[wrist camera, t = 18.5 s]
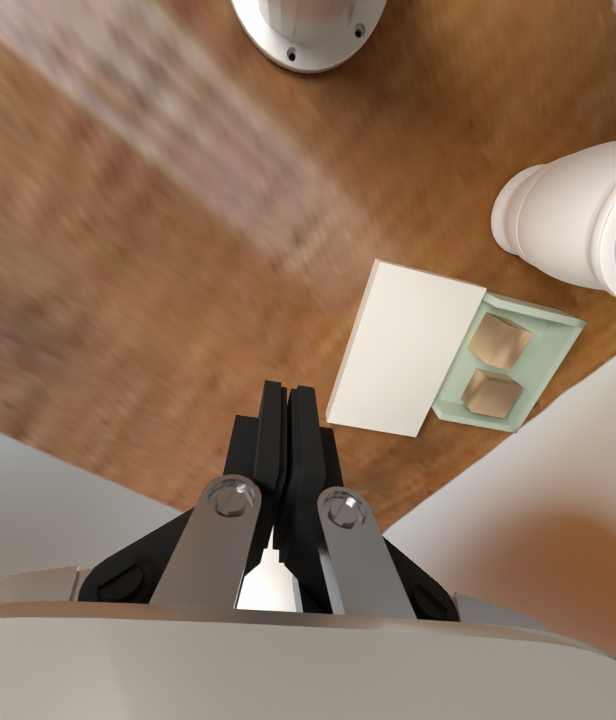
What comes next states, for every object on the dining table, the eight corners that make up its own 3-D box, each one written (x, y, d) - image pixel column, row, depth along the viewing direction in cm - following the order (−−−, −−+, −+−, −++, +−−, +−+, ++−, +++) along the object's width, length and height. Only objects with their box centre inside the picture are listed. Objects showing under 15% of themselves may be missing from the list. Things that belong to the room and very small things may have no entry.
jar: (605, 189, 34) (815, 187, 20) (531, 281, 38) (667, 330, 24) (529, 128, 31) (713, 80, 18) (457, 234, 35) (565, 260, 22)
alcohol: (265, 429, 44) (233, 790, 18) (316, 459, 47) (356, 809, 20) (227, 470, 47) (151, 835, 20) (278, 496, 50) (269, 848, 23)
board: (375, 258, 35) (380, 261, 34) (477, 284, 37) (487, 288, 36) (325, 412, 44) (327, 422, 42) (410, 427, 46) (415, 437, 44)
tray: (479, 289, 38) (499, 299, 34) (559, 309, 39) (587, 321, 36) (427, 400, 44) (439, 419, 40) (498, 414, 46) (516, 433, 42)
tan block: (523, 387, 40) (508, 375, 42) (489, 380, 39) (476, 368, 42) (504, 418, 42) (491, 404, 44) (471, 412, 41) (460, 398, 43)
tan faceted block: (509, 326, 34) (534, 333, 35) (486, 312, 38) (508, 318, 39) (486, 364, 36) (510, 370, 37) (466, 346, 40) (488, 353, 41)
